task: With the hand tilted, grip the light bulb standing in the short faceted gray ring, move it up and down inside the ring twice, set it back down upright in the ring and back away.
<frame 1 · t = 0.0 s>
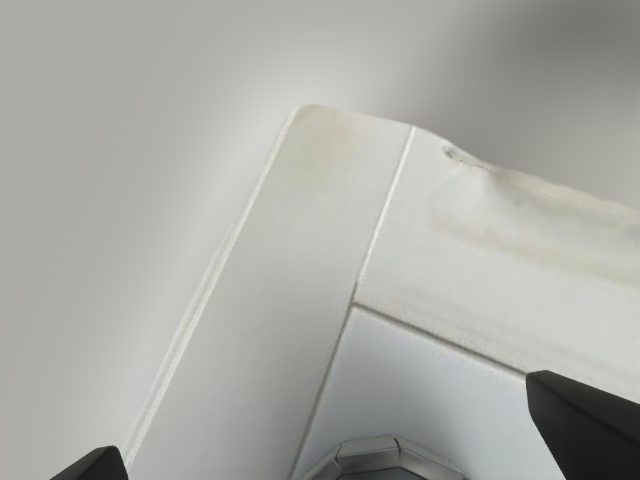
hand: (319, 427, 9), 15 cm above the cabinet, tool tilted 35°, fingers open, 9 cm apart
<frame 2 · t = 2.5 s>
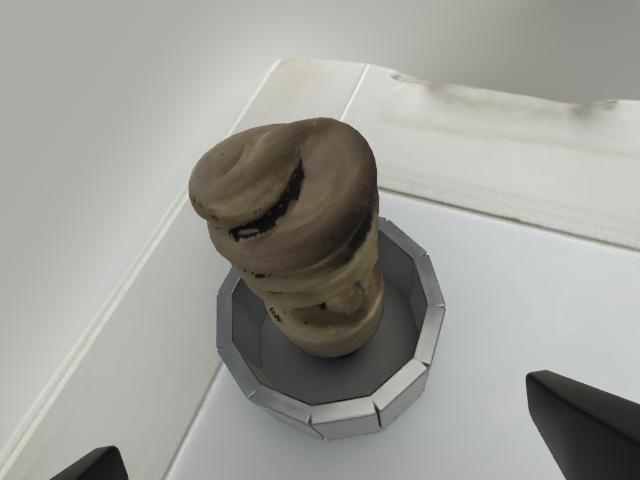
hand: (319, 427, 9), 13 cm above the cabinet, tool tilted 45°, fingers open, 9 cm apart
faceted gray ring: (337, 335, 23), on the cabinet
light bulb: (337, 336, 23), resting in faceted gray ring
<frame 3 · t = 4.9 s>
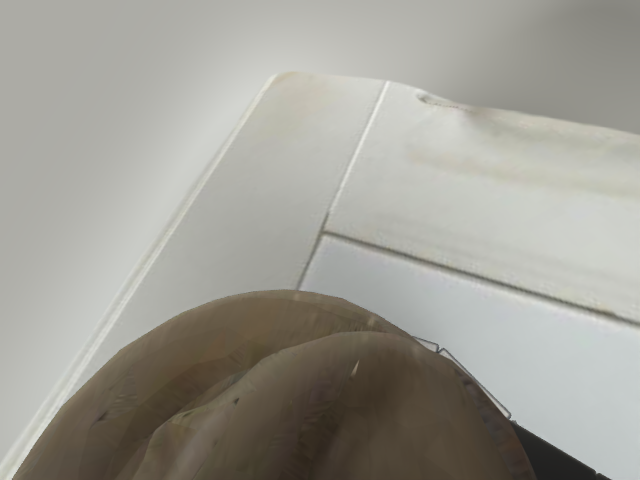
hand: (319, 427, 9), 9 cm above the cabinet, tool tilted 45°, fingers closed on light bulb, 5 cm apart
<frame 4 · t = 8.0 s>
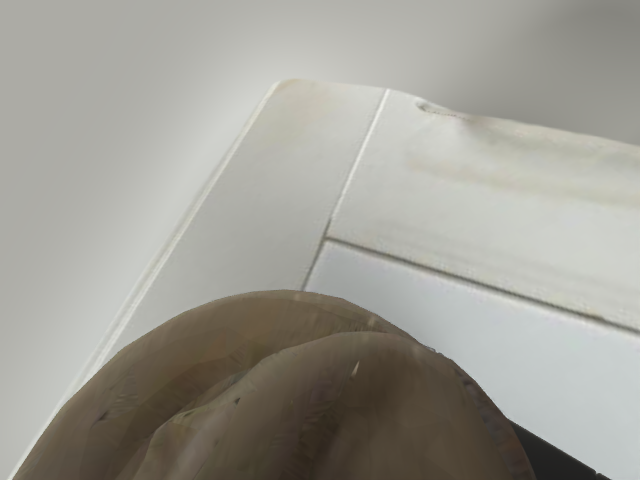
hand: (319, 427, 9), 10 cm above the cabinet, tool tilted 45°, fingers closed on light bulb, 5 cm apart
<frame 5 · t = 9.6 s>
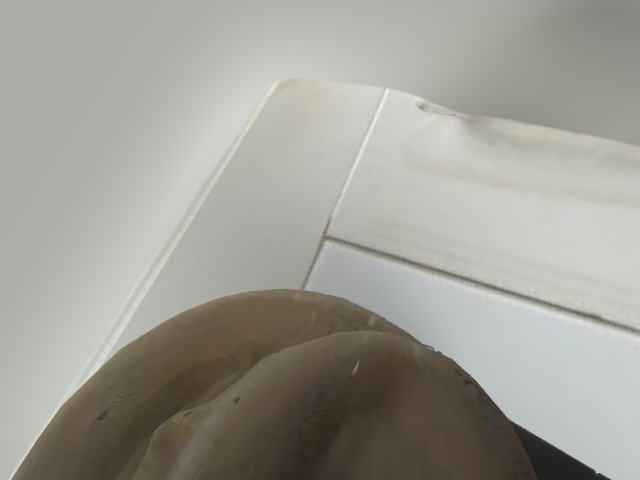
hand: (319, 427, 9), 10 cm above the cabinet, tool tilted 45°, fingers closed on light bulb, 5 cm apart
when the fingers open (9 cm above the cabinet, at t = 10.6 s): light bulb stays where it is, resting in faceted gray ring.
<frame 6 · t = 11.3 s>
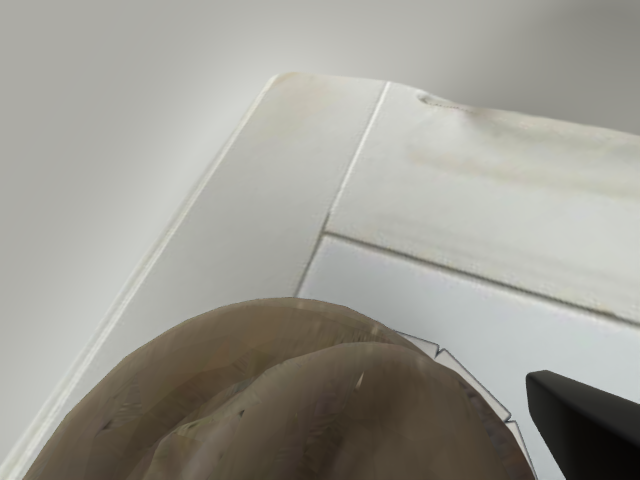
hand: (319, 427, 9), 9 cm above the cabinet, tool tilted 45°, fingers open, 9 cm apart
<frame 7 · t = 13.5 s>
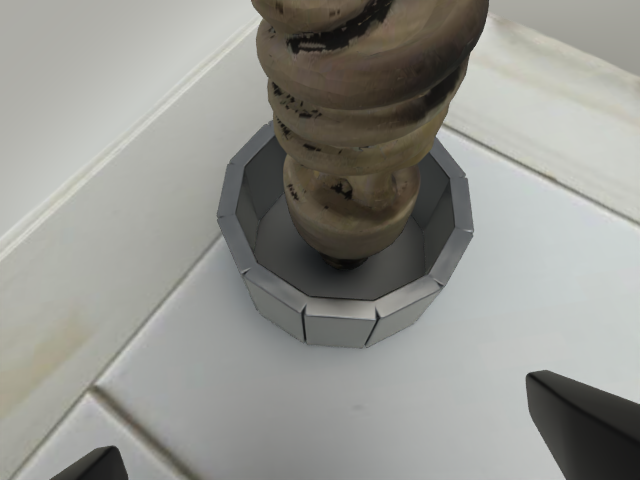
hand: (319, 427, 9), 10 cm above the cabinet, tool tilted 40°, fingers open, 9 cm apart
faceted gray ring: (339, 247, 22), on the cabinet
light bulb: (338, 250, 22), resting in faceted gray ring
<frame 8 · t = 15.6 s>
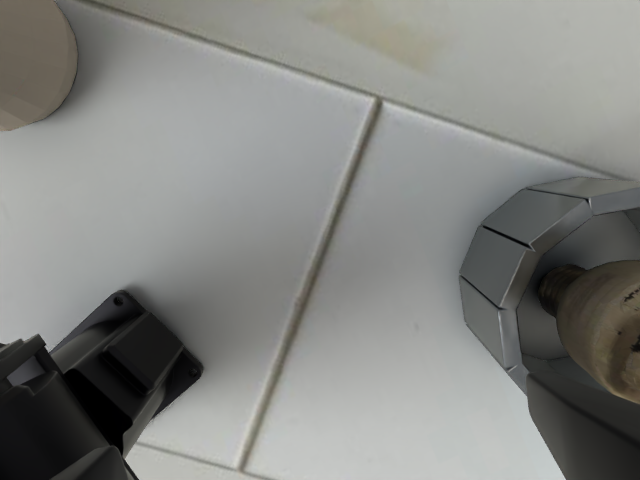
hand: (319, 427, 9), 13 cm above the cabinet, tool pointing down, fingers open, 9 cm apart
faceted gray ring: (560, 280, 21), on the cabinet
decorative mushroom: (29, 64, 20), on the cabinet
light bulb: (556, 279, 22), resting in faceted gray ring
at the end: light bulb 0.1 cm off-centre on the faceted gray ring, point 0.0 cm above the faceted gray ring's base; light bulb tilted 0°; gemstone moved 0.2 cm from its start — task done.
